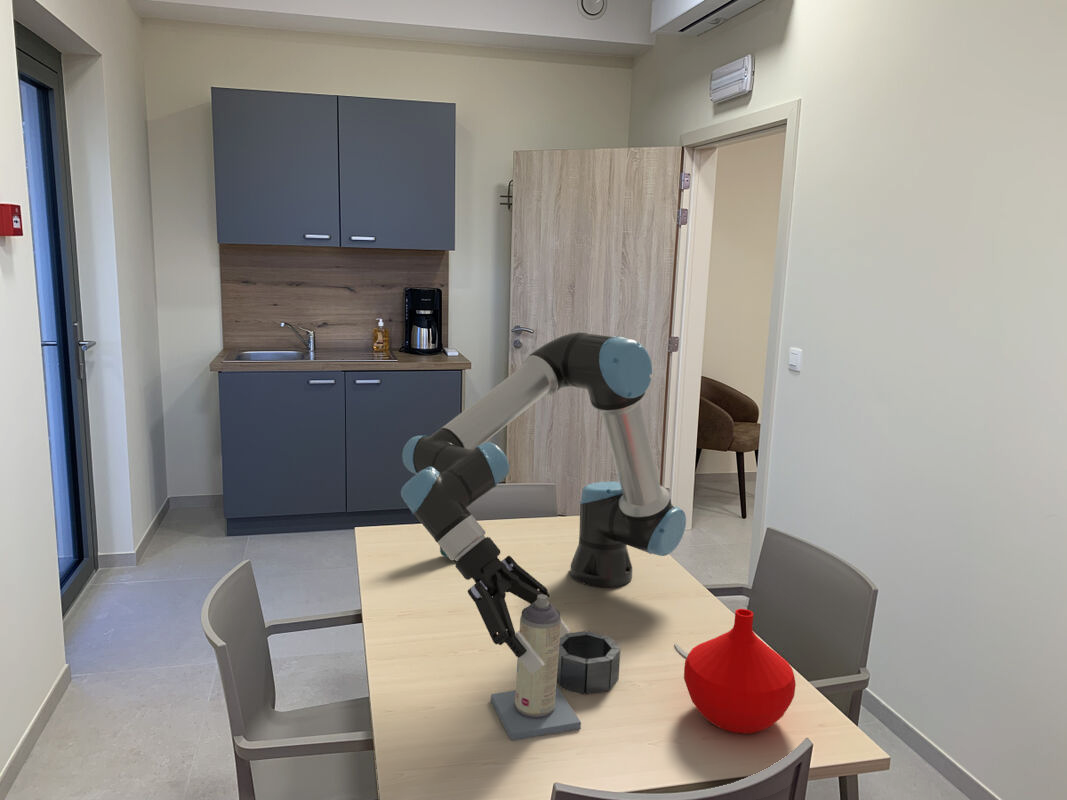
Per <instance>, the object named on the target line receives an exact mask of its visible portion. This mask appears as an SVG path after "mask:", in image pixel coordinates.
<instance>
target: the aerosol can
mask: <svg viewBox="0 0 1067 800" xmlns="http://www.w3.org/2000/svg"><path fill="white" fill-rule="evenodd" d="M561 616H562V614H561V613H560V611H559V610H558V609H556V608H555V606H554V605H552V603H551V602H549V601H548V597H547V595H544V594H540V595H538V596H537V600H536V601H535V602H533V603H532V604H530V603H529V605H528V606H526V607H524V608H523V609H522V610H521V615H520V620H519V632H520V633H521V634H522V635H523V637H524V638H525V639H526V641H527V642H528V643H529V644H530V646H531V647H532V648H533V649H534V651H535V652H536V653H537V654H538V656H539V657H540V658H541V660H542V661H543V662H544V663H545V664H544V665H543V666H542V667H541V668H540V669H538V670H537V671H535V672H534V673H533V674H531V673H530V672H529V671H528V669H527V668H526V667H525V666H524V664H523V663H522V662H521V660H520V659H519V658H518V657H517V663H516V664H517V665H516V680H515V690H516V692H515V709H516V711H517V712H518V713H519V714H521V715H523V716H525V717H529V718H536V719H537V718H544V717H548V716H549V715H551V714H552V713H553V712H554V708H555V695H556V686H557V669H558V656H559V643H560V630H561V619H562V618H561Z"/></svg>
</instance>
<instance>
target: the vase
mask: <svg viewBox="0 0 1067 800" xmlns="http://www.w3.org/2000/svg"><path fill="white" fill-rule="evenodd" d="M734 614H735V615H734V622H733V623H734V624H733V627H732V628H731V629H730V630H729V631H727V632H724V633H723V634H720V635H719V636H716V637H714V638H712V639H709V640H707V641H704V642H701V643H699V644H697V645H696V646H694V647H693V648H692V649H691V650H690V651H689V652H688V656H687V658H685V659H684V660H685V661H684V667H683V668H684V669H683V670H684V671H683V680H684V683H685V686H686V688H687V691H688V692H687V693H688V694H689V697H690V699H691V702H692V704H693V705H694V706H695V708H696V709H697V710H698V711H699V713H700V714H701V716H703V718H705V719H706V720H707V721H709V722H710V723H711V724H713V725H714V726H715V727H717V728H720V729H721V730H724V731H728V732H730V733H735V734H744V735H745V734H753V733H757V732H761V731H764V730H767V729H768V728H770V727H772V726H773V725H774V724H775V723H776V722H778V721H779V720H780V719H782V718H783V717H784V715H785V714H786V711H787V710H788V709H789V707H790V706H791V703H792V701H793V700H794V697H795V692H796V685H797V683H796V678H795V673H794V670H793V668H792V667H791V665H790V663H789V662H788V661H787V660H786V659H785V658H784V657H783V656H781V655H780V654H779V653H778V652H777V651H775V650H774V649H772V648H771V647H770V646H769V645H767V644H766V643H765V642H764V641H763V640H761V639H760V638H759V637H758V636H757V635H756V634H755V632H754V629H753V625H754V624H753V623H754V622H753V621H754V612H753V611H751V610H749V609H745V608H738V609H736V610H735V613H734Z"/></svg>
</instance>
